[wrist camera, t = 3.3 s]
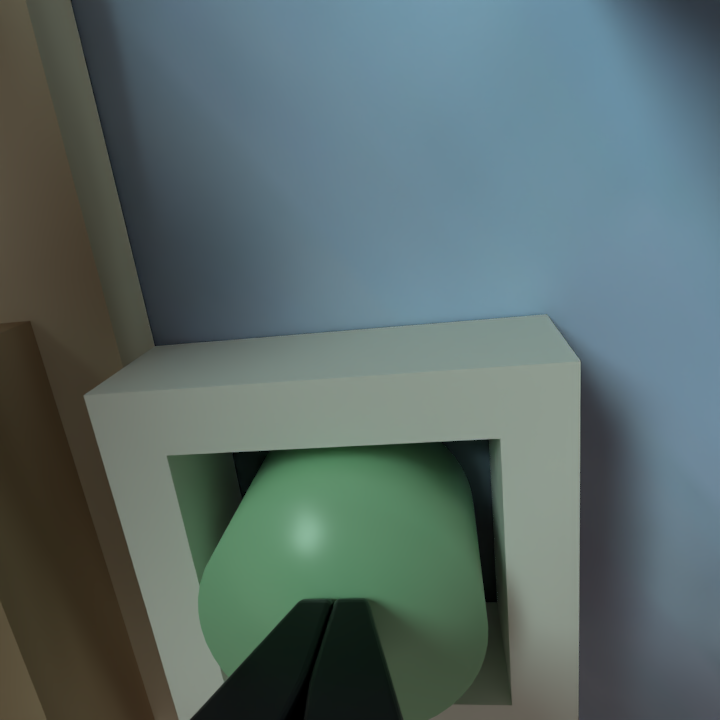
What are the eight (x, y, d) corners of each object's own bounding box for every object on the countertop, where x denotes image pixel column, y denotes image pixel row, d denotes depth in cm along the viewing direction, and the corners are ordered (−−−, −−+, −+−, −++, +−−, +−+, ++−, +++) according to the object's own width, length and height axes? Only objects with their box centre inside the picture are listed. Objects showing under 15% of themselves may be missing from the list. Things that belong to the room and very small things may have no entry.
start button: (467, 402, 9) (480, 495, 6) (479, 597, 10) (494, 737, 7) (236, 416, 9) (169, 506, 7) (274, 600, 10) (227, 731, 8)
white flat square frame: (547, 314, 8) (581, 361, 6) (551, 643, 10) (578, 753, 8) (154, 345, 9) (83, 395, 7) (226, 642, 11) (185, 742, 9)
